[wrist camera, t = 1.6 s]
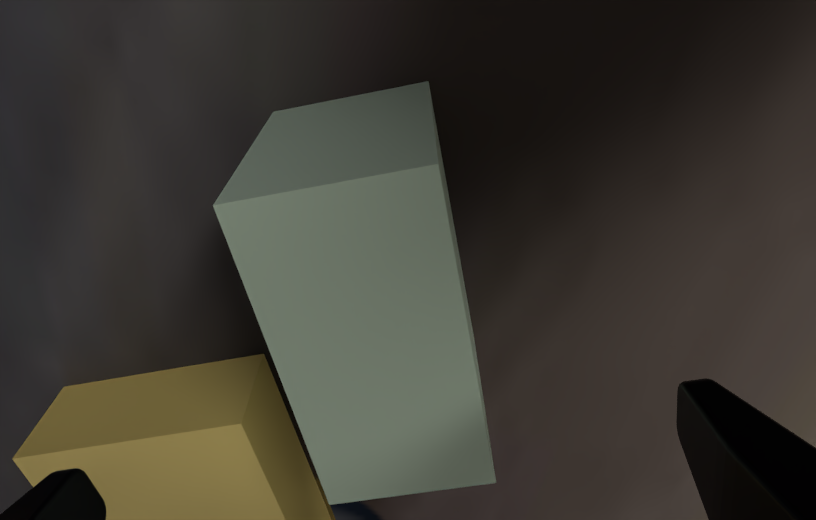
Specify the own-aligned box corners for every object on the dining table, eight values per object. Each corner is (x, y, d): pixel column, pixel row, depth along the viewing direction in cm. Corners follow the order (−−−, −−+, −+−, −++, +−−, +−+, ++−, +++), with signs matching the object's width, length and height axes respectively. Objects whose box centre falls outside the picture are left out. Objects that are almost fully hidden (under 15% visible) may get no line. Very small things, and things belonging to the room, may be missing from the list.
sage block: (428, 80, 13) (437, 163, 9) (473, 334, 17) (496, 482, 13) (274, 110, 14) (212, 205, 9) (349, 353, 17) (329, 505, 13)
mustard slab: (265, 345, 17) (240, 424, 15) (338, 527, 21) (329, 613, 19) (69, 378, 18) (12, 458, 15) (174, 548, 22) (143, 636, 19)
